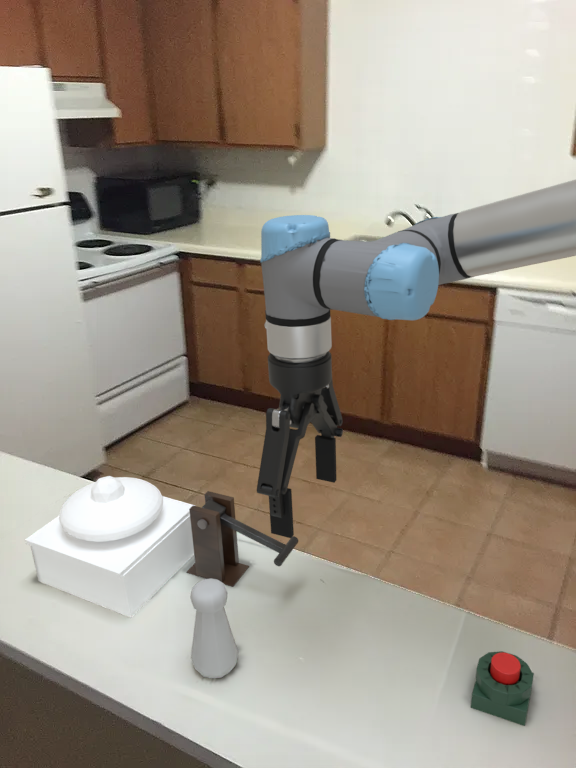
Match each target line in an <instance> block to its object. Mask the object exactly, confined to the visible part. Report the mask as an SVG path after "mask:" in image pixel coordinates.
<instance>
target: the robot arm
mask: <svg viewBox="0 0 576 768" xmlns="http://www.w3.org/2000/svg"><path fill="white" fill-rule="evenodd" d="M260 237H261V239H260V241H261V243H260V245H261V247H260V248H261V249H260V250H261V253H260V254H261V257H260V260H259V261H260V262H259V263H260V264H261V265H260V266H261V274H262V284H263V295H264V303H265V310H264V313H265V322H264V324H263V325H264V328H265V330H266V343H267V344H266V345H267V351H268V352H269V354H268V356H267V367H268V369H267V371H268V381H269V384H270V386H272V387H273V388H274V389H275V390H277V392H278V393H279V394H280V397H279V405H278V408H271V407H268V408H267V409H266V412H265V433H264V440H263V446H262V453H261V459H260V465H259V472H258V478H257V484H256V493H257V494H260V495H265V496H268V507H269V521H270V522H269V523H270V534H273V535H277V536H280V537H284V538H288V539H290V538H292V537H293V536H294V535H295V532H294V513H293V512H294V511H293V495H292V493H293V491H292V488H289V483H290V479H291V476H292V473H293V468H294V464H295V460H296V457H297V452H298V448H299V445H300V441H301V440H302V439H304V438H305V436H306V433H307V429H308V426H309V424H310V423H311V424H312V426H313V428H314V429H315V430H316V432H317V433H318V434H316V435H315V436H314V447H315V449H314V450H315V453H314V454H315V479H316V480H319V481H324V482H329V483H333V484H334V483H336V482H337V439H336V437H338V438H342V437H343V433H344V429H343V428H341V427H342V425H343V416H342V413H341V409H340V405H339V403H338V399H337V395H336V392H335V389H334V382H333V368H332V367H333V366H332V363H333V360H332V359H333V358H332V353H331V352H330V351H331V349H332V347H333V343H332V342H333V341H332V340H333V339H332V315H331V310H332V311H339V312H346V313H351V314H358V315H364V316H370V317H377V318H380V319H382V320H389V321H395V320H401V321H402V320H403V321H417V320H420V319H422V318H424V317H425V316H427V314H428V313H429V311H430V310H431V309H430V308H431V306H433V305H434V303H435V300H436V297H437V294H438V290H439V289H438V288H439V286H440V285H444V284H450V283H454V282H459V281H464V280H467V279H471V278H476V277H479V276H484V275H489V274H494V273H499V272H504V271H508V270H513V269H518V268H523V267H529V266H532V265H538V264H542V263H548V262H552V261H557V260H562V259H567V258H573V257H576V179H572V180H569V181H565V182H561V183H558V184H555V185H554V184H553V185H551V186H548V187H543V188H540V189H536V190H533V191H529V192H525V193H521V194H519V195H515V196H511V197H508V198H504V199H501V200H497V201H493V202H489V203H486V204H483V205H479V206H475V207H472V208H469V209H464V210H461V211H459V212H457V213H451V214H447V215H444V216H433V217H429V218H425V219H423V220H420V221H417V222H416V223H415V224H413V225H411V226H408V227H407V228H405V229H402V230H398V231H396V232H393V233H390V234H388V235H386V236H383V237H381V238H378V239H375V240H372V241H370V240H369V241H366V240H365V241H364V240H363V241H360V240H345V239H339V238H333V237H331V232H330V228H329V222H328V221H327V219H325V217H323V216H317V215H313V214H293V215H283V216H278V217H277V216H276V217H274V218H271V219H268V220H267V221H266V222H265V223H264V224H263V225H262V227H261V236H260Z"/></svg>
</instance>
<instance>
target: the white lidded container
mask: <svg viewBox="0 0 576 768" xmlns="http://www.w3.org/2000/svg"><path fill="white" fill-rule="evenodd" d="M192 506H197V505H196V504H192V503H188V502H185V501H181V500H178V499H174V498H170V497H167V496H165V495H162V493H161V490H160V489H159V488H158V487H157V486H156V485H154V484H152V483H151V482H150V481H147V480H144V479H142V478H137V477H129V476H119V477H118V476H116V477H114V476H112V475H107V476H103V477H99V478H98V479H97V480H96V481H94V482H91V483H89V484H87V485H85V486H83V487H81V488H79V489H78V490H76V491H74V492H73V493H72V494H71V495H69V497H68V498H67V499H66V500H65V501H64V503H62V506H61V507H60V510H59V514H58V515H57V516H56V517H55V518H53V519H52V520H50V521H49V522H48V523H46V524H44V525H43V526H42V527H40V528H39V529H38V530H35V532H34V533H32V534H31V535H29V536H28V537H26V538H25V539H24V542H25V545H27V546H30V551H31V554H32V559H33V563H34V568H35V572H36V576H37V581H38V582H39V583H42V584H44V585H46V586H50V587H51V588H54V589H56V590H60V591H62V592H65V593H67V594H70V595H71V596H74V597H77V598H80V599H83V600H85V601H87V602H90V603H92V604H95V605H97V606H99V607H103V608H105V609H107V610H109V611H112V612H114V613H118V614H119V615H123V616H125V617H128V618H132V617H134V615H136V613H138V612H139V610H140V609H142V607H143V606H145V604H146V603H148V601H150V599H152V597H153V596H154V595H156V593H157V592H158V591H160V589H162V587H163V586H165V585H166V583H167V582H168V581H169V580H171V578H173V577H174V575H176V573H178V572H179V571H180V569H181V568H182V567H184V566H185V565H186V564H187V563H188V562H189V561H190V560H191V559H192V558H193V556H194V547H193V538H192V529H191V520H190V511H189V509H190V508H191V507H192Z"/></svg>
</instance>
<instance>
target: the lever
mask: <svg viewBox="0 0 576 768" xmlns="http://www.w3.org/2000/svg"><path fill="white" fill-rule="evenodd" d="M201 508H205V509H209V510H213V511H217V512H219V513H220V523H221V524H223V525H225V526H227V527H229V528H231V529H233V530H235V531H237V533H239V534H241V535H242V536H244V537H247V538H248V539H251V540H253V541H254V542H256V543H258V544H260V545H262V546H265V547H266V548H268V549H270V550H272V551H274V552H276V553H278V554H277V555H276V557H275V558H274V559H273V564H274V565H275V566H276V567H281V566H283V564H284V562H285V561H286V560H287V558H288V557H289V556H290V555H291V553H292V552H293V551H294V549H295V547H297V545H298V544H299V538H298V537H297V536H294V535H293V537H292V538H289V539H288V541H287V543H283V542H281V541H280V540H277V539H275V538H273V537H271V536H270V535H268V534H266V533H264V532H261V531H259V530H257V529H255V528H253V527H252V526H249V525H247V524H246V523H243V522H242V521H240V520H238V519H236V518H235V519H234V518H232V517H230V516H228V515H226V514H225V510H226V507H224V506H222V505H220V504H218V503H216V502H214V501H212V500H209V501H208V502H207V503H206V504H205V503H204V504H203V505H202V506H201Z"/></svg>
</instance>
